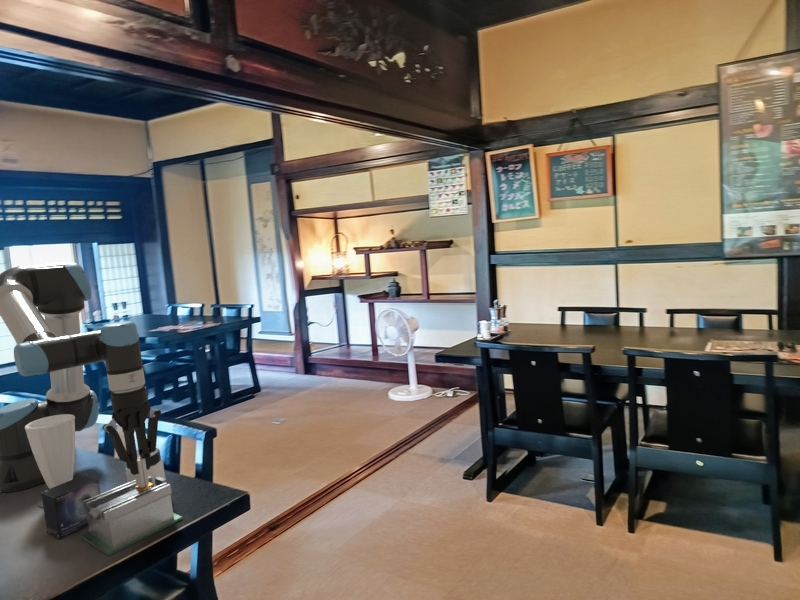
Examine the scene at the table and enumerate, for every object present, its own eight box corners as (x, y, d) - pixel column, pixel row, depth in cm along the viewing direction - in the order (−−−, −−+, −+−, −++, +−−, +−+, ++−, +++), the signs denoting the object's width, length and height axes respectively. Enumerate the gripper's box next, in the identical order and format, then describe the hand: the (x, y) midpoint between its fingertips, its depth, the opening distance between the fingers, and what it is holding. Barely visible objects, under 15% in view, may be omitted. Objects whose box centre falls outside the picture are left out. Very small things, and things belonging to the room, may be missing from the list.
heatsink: (81, 537, 124) (75, 501, 123) (152, 505, 137) (147, 472, 136) (109, 555, 115) (102, 517, 114) (182, 519, 128) (177, 484, 127)
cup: (93, 494, 146) (81, 418, 144) (44, 512, 138) (30, 431, 136) (79, 484, 154) (67, 411, 152) (32, 500, 146) (19, 423, 143)
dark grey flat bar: (94, 521, 117) (93, 513, 117) (86, 516, 120) (84, 508, 120) (156, 491, 128) (154, 484, 128) (146, 487, 131) (145, 480, 131)
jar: (132, 508, 136) (125, 463, 135) (128, 497, 143) (121, 454, 141) (170, 497, 141) (164, 453, 139) (164, 486, 148) (158, 444, 146)
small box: (60, 540, 123) (52, 497, 122) (46, 534, 127) (38, 492, 126) (105, 518, 132) (99, 477, 131) (91, 513, 136) (85, 473, 135)
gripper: (105, 398, 118) (122, 500, 120) (163, 382, 128) (177, 477, 131) (90, 394, 122) (106, 493, 125) (147, 379, 133) (161, 471, 135)
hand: (142, 484), depth 128 cm, fingers closed
